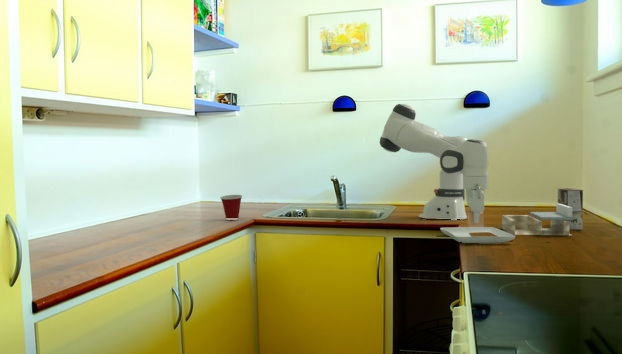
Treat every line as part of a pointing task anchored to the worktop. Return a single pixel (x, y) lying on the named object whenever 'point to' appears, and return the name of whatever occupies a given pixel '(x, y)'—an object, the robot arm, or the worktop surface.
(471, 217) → the terracotta block
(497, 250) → the worktop surface
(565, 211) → the sliding roof
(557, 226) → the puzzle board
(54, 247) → the worktop surface
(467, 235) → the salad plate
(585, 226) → the worktop surface
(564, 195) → the coffee box
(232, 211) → the plastic cup
